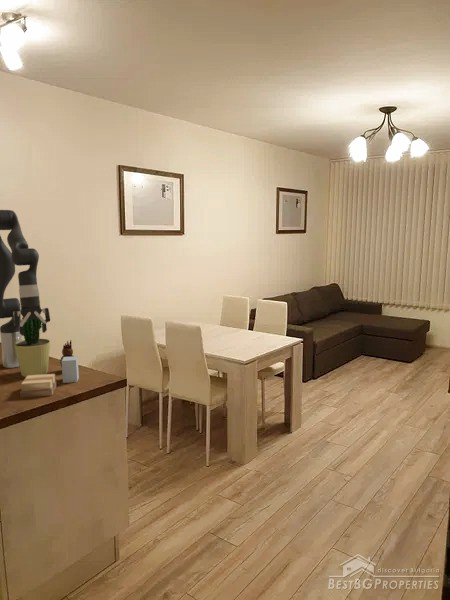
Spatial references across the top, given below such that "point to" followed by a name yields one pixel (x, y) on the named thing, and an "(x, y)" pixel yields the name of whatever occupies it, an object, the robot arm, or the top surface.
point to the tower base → (38, 392)
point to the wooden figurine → (67, 351)
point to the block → (70, 369)
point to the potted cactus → (32, 350)
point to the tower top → (38, 382)
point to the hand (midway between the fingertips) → (33, 333)
